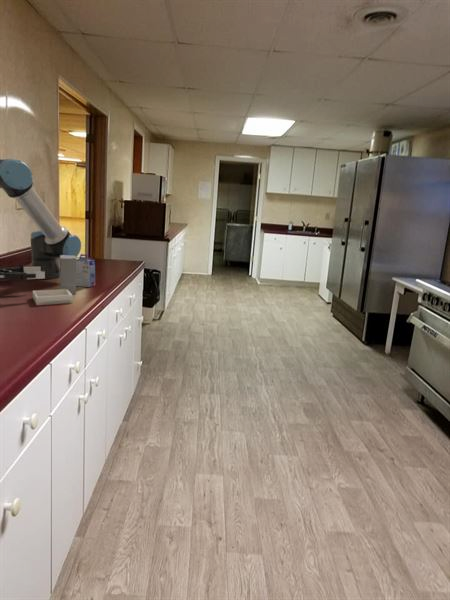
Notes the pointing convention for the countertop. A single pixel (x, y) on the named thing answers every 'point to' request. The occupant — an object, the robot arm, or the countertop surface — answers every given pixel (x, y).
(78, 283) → the ink cartridge box
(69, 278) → the skincare box
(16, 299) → the countertop surface
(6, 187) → the robot arm
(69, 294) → the tray
